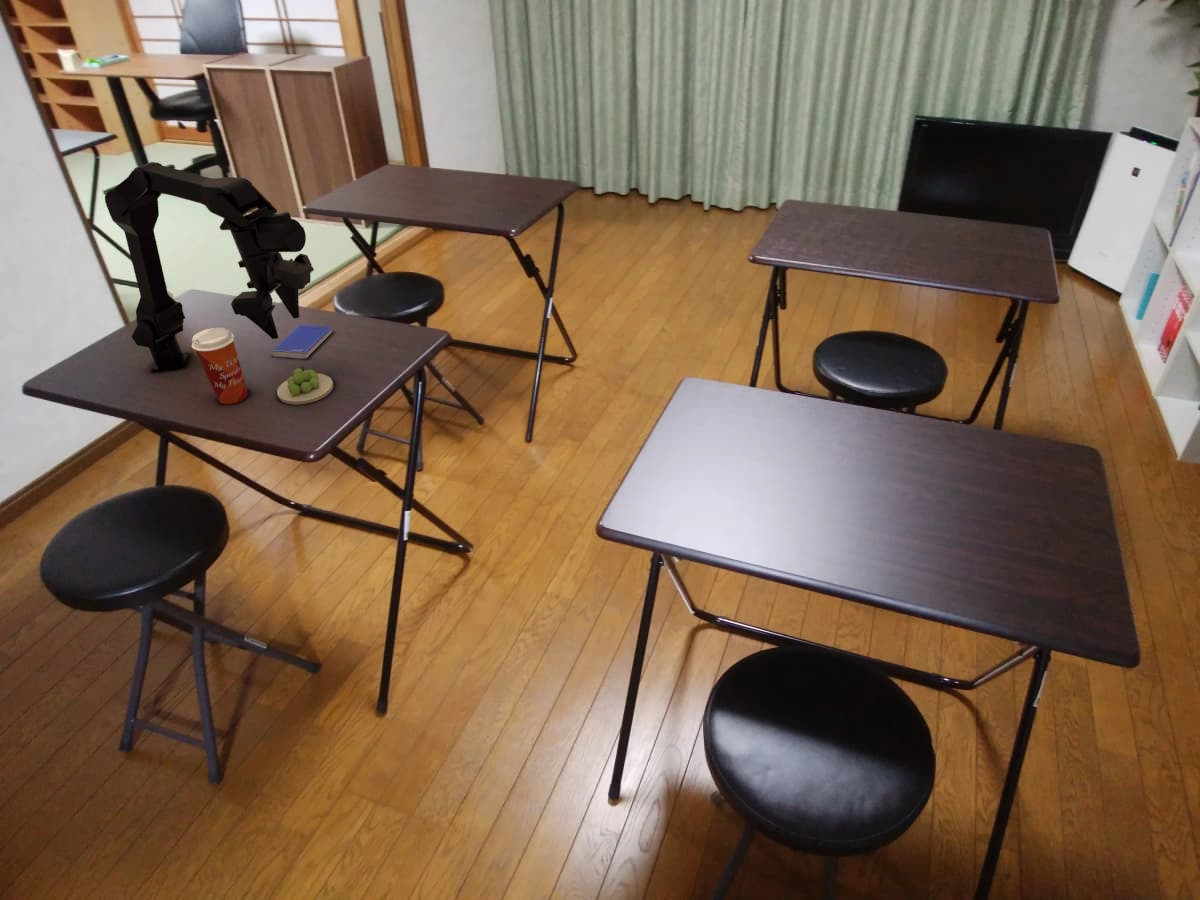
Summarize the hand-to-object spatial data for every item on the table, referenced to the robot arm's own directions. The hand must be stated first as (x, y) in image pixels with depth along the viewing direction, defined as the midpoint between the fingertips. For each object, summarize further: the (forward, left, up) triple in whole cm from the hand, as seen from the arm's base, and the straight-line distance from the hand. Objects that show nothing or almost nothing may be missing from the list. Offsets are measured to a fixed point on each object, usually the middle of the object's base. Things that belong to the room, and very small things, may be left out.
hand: (286, 327), depth 149 cm
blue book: (-20, -2, -14) cm, 24 cm away
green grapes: (+1, 0, -14) cm, 14 cm away
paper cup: (0, -14, -14) cm, 20 cm away
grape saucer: (+1, 0, -14) cm, 14 cm away
